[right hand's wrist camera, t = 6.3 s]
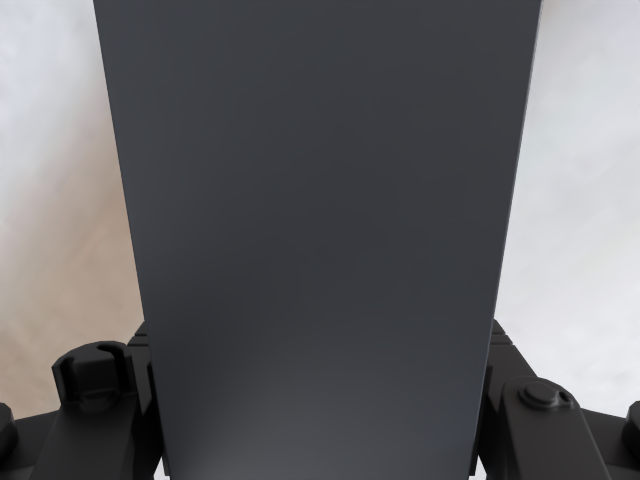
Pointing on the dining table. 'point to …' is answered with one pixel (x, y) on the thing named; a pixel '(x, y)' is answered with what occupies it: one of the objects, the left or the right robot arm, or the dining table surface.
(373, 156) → the beam
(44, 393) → the dining table surface
